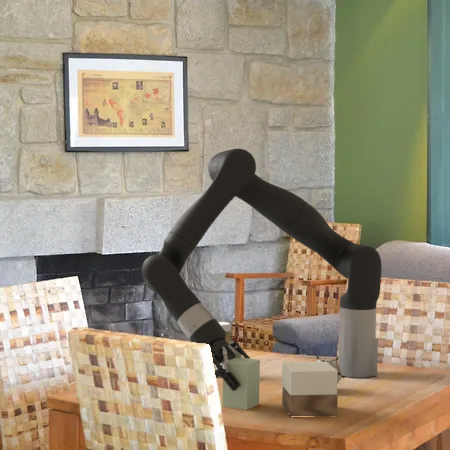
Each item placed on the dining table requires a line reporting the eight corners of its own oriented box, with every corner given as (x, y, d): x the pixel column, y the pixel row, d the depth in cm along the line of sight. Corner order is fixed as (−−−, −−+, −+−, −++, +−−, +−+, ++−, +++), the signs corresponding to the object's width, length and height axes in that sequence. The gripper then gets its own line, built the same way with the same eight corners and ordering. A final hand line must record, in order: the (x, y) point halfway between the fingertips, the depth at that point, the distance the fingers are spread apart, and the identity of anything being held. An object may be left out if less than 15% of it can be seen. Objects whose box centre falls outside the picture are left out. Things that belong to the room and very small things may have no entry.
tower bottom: (326, 406, 213) (327, 384, 213) (337, 418, 203) (337, 394, 203) (282, 407, 212) (282, 384, 212) (290, 419, 202) (291, 395, 202)
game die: (331, 404, 229) (356, 371, 230) (324, 399, 221) (350, 364, 222) (302, 382, 233) (327, 349, 233) (294, 376, 225) (319, 342, 226)
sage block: (222, 406, 211) (223, 361, 210) (235, 400, 216) (235, 356, 215) (246, 410, 208) (247, 364, 207) (259, 404, 213) (259, 359, 213)
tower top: (326, 384, 213) (326, 361, 213) (337, 394, 203) (337, 371, 203) (281, 384, 212) (282, 362, 212) (290, 395, 202) (291, 371, 202)
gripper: (196, 321, 208) (242, 380, 203) (227, 313, 221) (271, 368, 216) (175, 343, 211) (220, 401, 206) (206, 334, 224) (249, 388, 219)
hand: (246, 384), depth 211 cm, fingers open, 8 cm apart
